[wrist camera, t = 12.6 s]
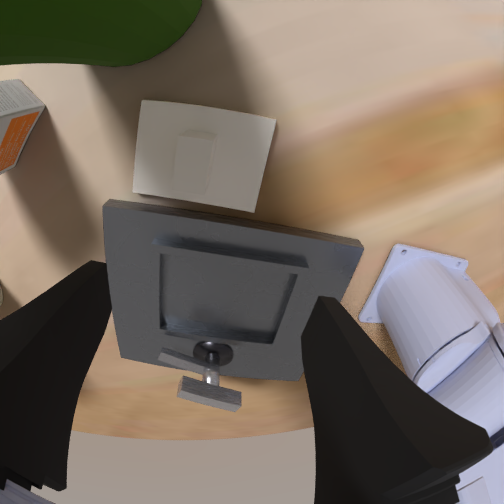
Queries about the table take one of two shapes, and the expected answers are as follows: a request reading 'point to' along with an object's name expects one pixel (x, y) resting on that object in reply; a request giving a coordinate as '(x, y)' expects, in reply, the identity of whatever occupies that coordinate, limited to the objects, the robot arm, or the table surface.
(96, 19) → the wine bottle
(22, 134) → the skincare box
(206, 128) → the cover
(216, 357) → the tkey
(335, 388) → the robot arm
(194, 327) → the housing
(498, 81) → the table surface
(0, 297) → the reusable coffee cup
